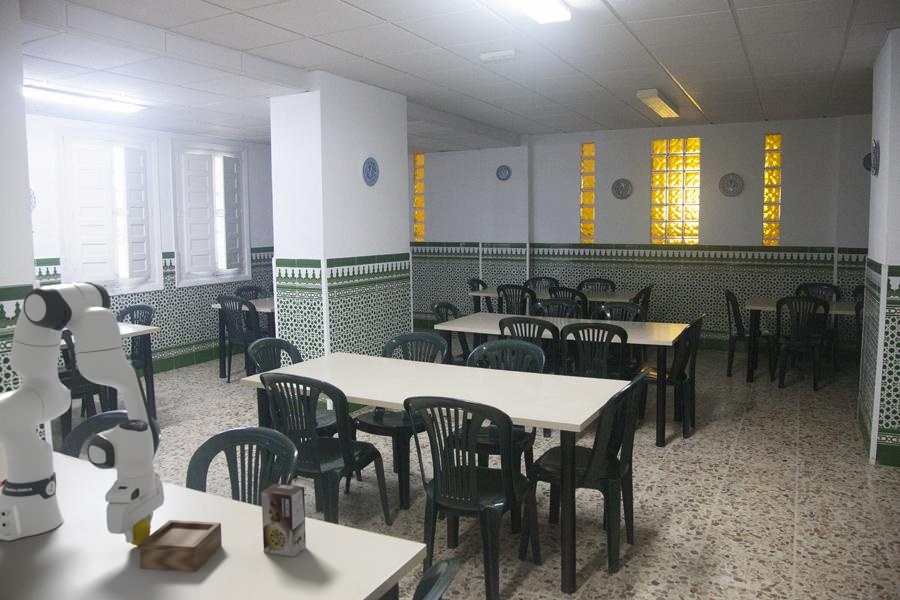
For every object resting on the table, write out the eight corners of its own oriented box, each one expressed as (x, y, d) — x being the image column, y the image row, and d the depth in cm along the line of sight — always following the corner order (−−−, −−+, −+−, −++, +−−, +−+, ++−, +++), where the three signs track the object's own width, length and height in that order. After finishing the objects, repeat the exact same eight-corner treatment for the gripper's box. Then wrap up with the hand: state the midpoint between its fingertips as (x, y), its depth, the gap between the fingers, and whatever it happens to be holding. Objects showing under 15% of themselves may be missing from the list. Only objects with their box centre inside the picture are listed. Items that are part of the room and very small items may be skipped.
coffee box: (306, 546, 179) (305, 486, 178) (293, 557, 173) (292, 495, 172) (276, 541, 182) (275, 482, 181) (262, 552, 176) (260, 490, 175)
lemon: (142, 552, 176) (140, 521, 175) (122, 550, 177) (121, 520, 176) (155, 542, 182) (154, 513, 181) (136, 540, 183) (135, 511, 182)
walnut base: (140, 568, 168) (139, 543, 167) (170, 542, 181) (169, 520, 181) (195, 571, 166) (194, 547, 165) (221, 545, 180) (220, 522, 179)
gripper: (147, 469, 188) (149, 518, 190) (100, 498, 168) (103, 552, 170) (169, 470, 188) (171, 519, 189) (124, 499, 167) (127, 554, 169)
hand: (138, 535), depth 179 cm, fingers closed on lemon, 6 cm apart
